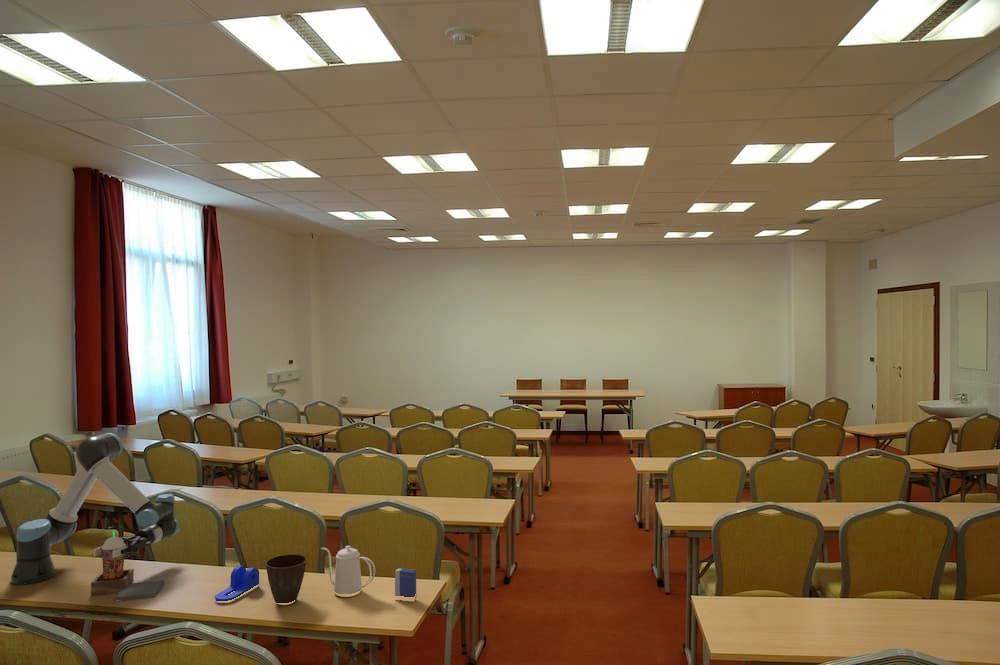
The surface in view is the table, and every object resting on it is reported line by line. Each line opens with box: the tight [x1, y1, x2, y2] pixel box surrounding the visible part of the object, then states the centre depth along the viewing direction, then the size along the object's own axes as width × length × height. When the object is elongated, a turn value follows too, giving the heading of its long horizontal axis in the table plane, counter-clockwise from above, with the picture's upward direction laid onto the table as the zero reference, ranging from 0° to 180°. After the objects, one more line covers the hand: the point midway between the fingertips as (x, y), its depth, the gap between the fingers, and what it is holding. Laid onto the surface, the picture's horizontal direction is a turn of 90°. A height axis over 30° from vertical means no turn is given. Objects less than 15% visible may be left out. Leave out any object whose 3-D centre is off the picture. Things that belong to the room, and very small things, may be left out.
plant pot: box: [265, 553, 307, 604], centre depth 238 cm, size 15×15×16 cm
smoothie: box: [101, 529, 126, 581], centre depth 252 cm, size 8×8×20 cm
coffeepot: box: [320, 545, 376, 594], centre depth 247 cm, size 11×25×19 cm, turn 73°
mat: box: [114, 579, 165, 602], centre depth 247 cm, size 14×14×2 cm
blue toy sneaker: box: [214, 565, 260, 601], centre depth 245 cm, size 18×8×9 cm, turn 164°
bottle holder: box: [90, 568, 135, 596], centre depth 252 cm, size 12×12×5 cm
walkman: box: [394, 567, 417, 597], centre depth 239 cm, size 8×3×12 cm, turn 74°
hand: (103, 553), depth 247 cm, fingers closed on smoothie, 8 cm apart
